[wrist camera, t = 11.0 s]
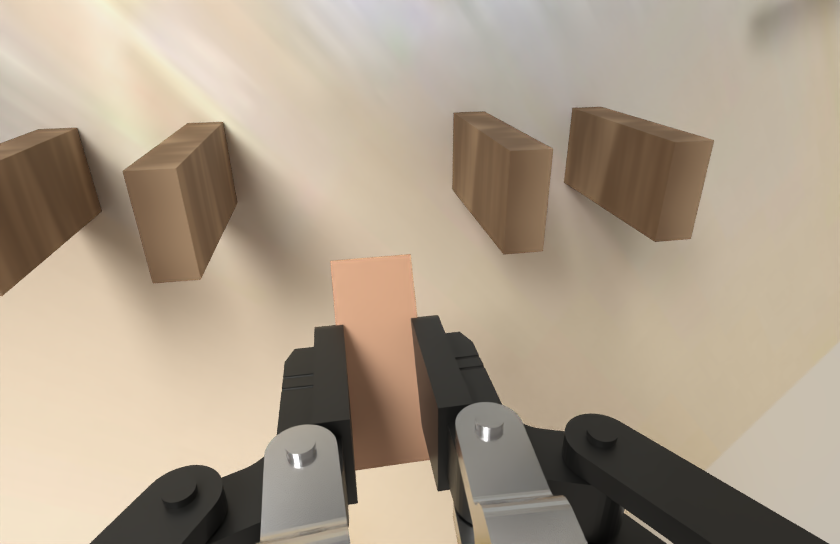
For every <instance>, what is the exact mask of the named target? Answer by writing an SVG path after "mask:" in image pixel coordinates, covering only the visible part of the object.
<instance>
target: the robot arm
mask: <svg viewBox="0 0 840 544" xmlns="http://www.w3.org/2000/svg"><path fill="white" fill-rule="evenodd" d="M411 327H412V337H413V346H414V356H415V366H416V375H417V385H418V395H419V404H420V414H421V424H422V429H423V434H424V438H425V442H426V446H427V450H428V454H429V458H430V462H431V466H432V470H433V474H434V478H435V482H436V486H437V490H438V491H443V490H450V491H451V495H452V498H453V521H454V526H455V532H456V537H457V542H458V544H666V543H665V542H663V541H662V540H661V539H659V538H658V537H657V536H655V535H654V534H652V533H651V532H650V531H648V530H647V529H645V528H644V527H643V526H641V525H640V524H638V523H637V522H635V521H634V520H633V519H631V518H630V517H629V516H627V515H626V514H624V509H626V510H627V511H629V512H630V513H632V514H633V515H635V516H636V517H637V518H639V519H640V520H642V521H643V522H644V523H646V524H648V525H649V526H650V527H651V528H653V529H654V530H656V531H657V532H658V533H660V534H661V535H663V536H664V537H666V538H667V539H668V540H670V541H671V542H672V543H673V544H829V543H827V542H825V541H823V540H822V539H820V538H818V537H817V536H815V535H813V534H811V533H810V532H808V531H806V530H805V529H803V528H801V527H800V526H797V525H796V524H794V523H793V522H791V521H789V520H787V519H786V518H784V517H782V516H780V515H779V514H777V513H776V512H773V511H772V510H770V509H769V508H767V507H765V506H763V505H762V504H760V503H758V502H757V501H755V500H753V499H751V498H750V497H748V496H746V495H745V494H743V493H741V492H740V491H738V490H736V489H734V488H733V487H731V486H729V485H728V484H726V483H724V482H722V481H721V480H719V479H717V478H716V477H714V476H712V475H710V474H709V473H707V472H705V471H704V470H702V469H700V468H698V467H697V466H695V465H693V464H692V463H690V462H688V461H687V460H685V459H683V458H681V457H680V456H678V455H676V454H675V453H673V452H671V451H669V450H668V449H666V448H664V447H663V446H661V445H659V444H657V443H656V442H654V441H652V440H651V439H649V438H647V437H645V436H644V435H642V434H640V433H639V432H637V431H635V430H633V429H632V428H630V427H628V426H627V425H625V424H623V423H621V422H620V421H618V420H616V419H614V418H611V417H608V416H605V415H600V414H583V415H579V416H576V417H574V418H572V419H571V420H570V421H569V422H568V423H567V425H566V428H565V432H564V431H555V430H547V429H539V428H534V427H531V426H528V425H525V424H523V423H522V421H521V419H520V417H519V416H518V415H517V414H516V413H515V412H514V411H513V410H511V409H510V408H508V407H506V406H504V405H502V403H501V401H500V399H499V397H498V395H497V393H496V391H495V388H494V386H493V384H492V382H491V380H490V378H489V376H488V374H487V371H486V369H485V368H484V365H483V363H482V361H481V359H480V357H479V355H478V352H477V350H476V348H475V346H474V344H473V342H472V341H471V340H469V339H468V338H467V337H466V336H464V335H463V334H462V333H460V332H454V333H445V331H444V329H443V326H442V324H441V321H440V319H439V316H438V315H434V316H424V317H416V318H411ZM356 503H358V501H357V487H356V474H355V460H354V447H353V433H352V422H351V410H350V398H349V386H348V374H347V363H346V351H345V339H344V327H343V325H332V326H322V327H315V332H314V347H309V348H300V349H294V351H293V352H292V353H291V355H290V356H289V357H288V359H287V360H286V361H285V365H284V374H283V383H282V392H281V401H280V410H279V419H278V428H277V436H276V437H274V438H273V439H272V440H271V442H270V443H269V444H268V446H267V448H266V450H265V455H264V457H263V458H262V459H260V460H259V461H258V462H256V463H255V464H253V465H251V466H249V467H247V468H245V469H243V470H240V471H238V472H235V473H232V474H230V475H227V476H225V477H222V478H221V476H220V475H219V473H218V472H217V471H215V470H214V469H212V468H210V467H207V466H203V465H190V466H185V467H181V468H178V469H175V470H173V471H170V472H168V473H166V474H165V475H163V476H161V477H160V478H158V479H157V480H156V481H154V482H153V483H152V484H151V485H150V486H149V487H148V488H147V489H146V490H145V491H144V492H143V493H142V494H141V495H140V496H139V497H137V498H136V499H135V500H134V501H133V502H132V503H131V504H130V505H129V506H128V507H127V508H126V509H125V510H124V511H123V512H122V513H121V514H120V515H119V516H118V517H117V518H116V519H115V520H114V521H113V522H112V523H111V524H110V525H109V526H107V527H106V528H105V529H104V530H103V531H102V532H101V533H100V534H99V535H98V536H97V537H96V538H95V539H94V540H93V541H92V542H91V543H90V544H350V538H349V531H348V527H349V513H348V505H349V504H356Z"/></svg>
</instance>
